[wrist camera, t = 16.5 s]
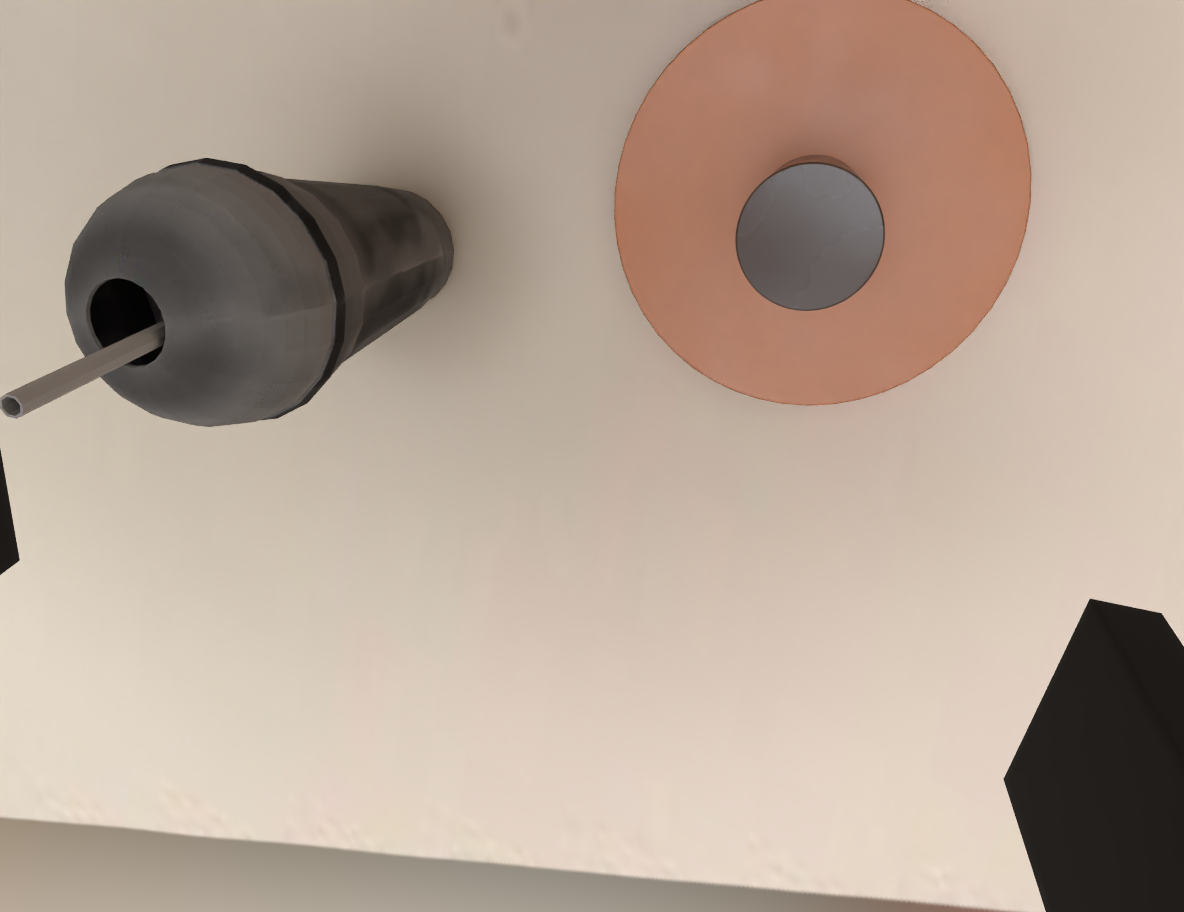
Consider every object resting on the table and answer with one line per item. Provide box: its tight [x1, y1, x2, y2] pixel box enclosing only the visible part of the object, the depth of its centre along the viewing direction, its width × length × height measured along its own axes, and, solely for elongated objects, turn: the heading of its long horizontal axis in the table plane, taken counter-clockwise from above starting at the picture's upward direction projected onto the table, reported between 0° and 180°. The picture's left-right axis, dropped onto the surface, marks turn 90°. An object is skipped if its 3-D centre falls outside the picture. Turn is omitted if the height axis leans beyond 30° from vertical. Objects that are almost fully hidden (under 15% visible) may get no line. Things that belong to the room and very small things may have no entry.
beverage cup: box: [0, 158, 453, 427], centre depth 27 cm, size 7×7×20 cm
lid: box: [615, 0, 1031, 405], centre depth 27 cm, size 14×14×10 cm
